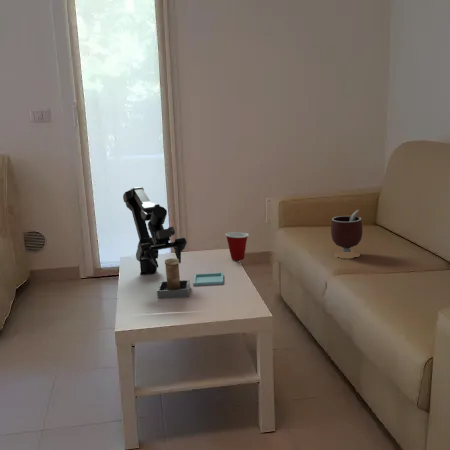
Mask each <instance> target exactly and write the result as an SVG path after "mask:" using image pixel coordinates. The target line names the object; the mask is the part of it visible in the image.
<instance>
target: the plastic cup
mask: <svg viewBox="0 0 450 450" xmlns="http://www.w3.org/2000/svg"><path fill="white" fill-rule="evenodd" d="M225 237H226V240H227V244H228V250H229V254H230V258H231V260H232V261H242V260H244V259H245V256H246V255H245V254H246V246H247V241H248V237H249V233H247V232H240V231H239V232H238V231H232V232H226V233H225Z"/></svg>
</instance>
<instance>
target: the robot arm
mask: <svg viewBox="0 0 450 450" xmlns="http://www.w3.org/2000/svg"><path fill="white" fill-rule="evenodd" d="M122 199H123V202H124V204H125V206H126V208H127V209H129V210H130V211H131V214H132V217H133V222H134V225H135V229H136V231H137V236H138V240H139V241H138V244H137V248H136V252H135V253H136V254H135V257H136V260H137V261H138V262H139V267H140V273H139V275H142V276H143V275H155V274H156V273H157V270H158V268H159V264H158V261H157V259H159V251H160V250H165V249H172V248H173V249H174V254H175V256H176V259H179V264H181V262H182V259H181V258H182V252H183V251H184V250H185V248H186V245H187V243H188V242H187V239H186V237H183V236H182V237H176V238H175V239H174V241H173V242H170V241H171V237H172V236H175V235H176V230H175V228H174V226H168V228H165V227H164V224H165V222H166V221H165V220H166V218H167V214H168V210H167V209H166V208H164V207H163V206H161V205H160V204H159V203H158V204H157V203H155V202H152V201H151V200H150V199H149V196H148V195H147V194H146V192H145V190H144V187H142V186H138V187H132V188H130V190H127V191H124V193H123V195H122ZM146 222H147V223H146ZM150 235H151V236H150Z"/></svg>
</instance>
